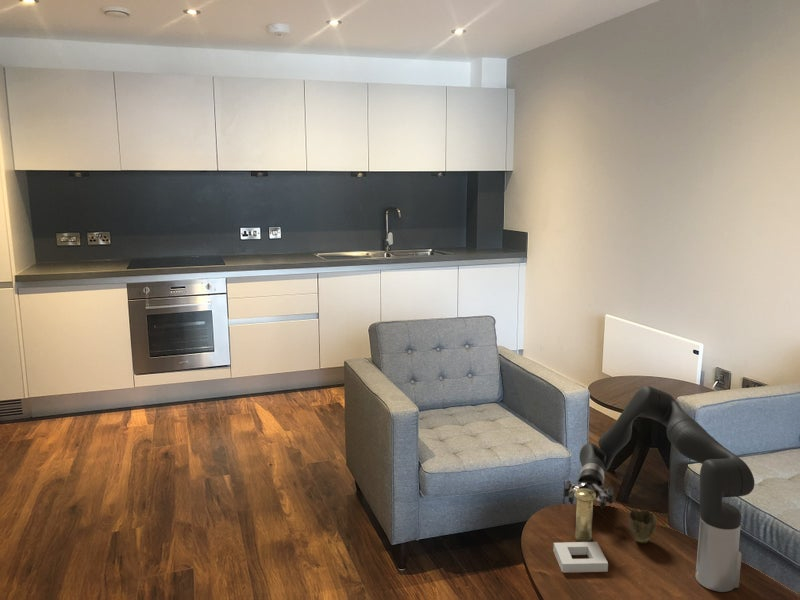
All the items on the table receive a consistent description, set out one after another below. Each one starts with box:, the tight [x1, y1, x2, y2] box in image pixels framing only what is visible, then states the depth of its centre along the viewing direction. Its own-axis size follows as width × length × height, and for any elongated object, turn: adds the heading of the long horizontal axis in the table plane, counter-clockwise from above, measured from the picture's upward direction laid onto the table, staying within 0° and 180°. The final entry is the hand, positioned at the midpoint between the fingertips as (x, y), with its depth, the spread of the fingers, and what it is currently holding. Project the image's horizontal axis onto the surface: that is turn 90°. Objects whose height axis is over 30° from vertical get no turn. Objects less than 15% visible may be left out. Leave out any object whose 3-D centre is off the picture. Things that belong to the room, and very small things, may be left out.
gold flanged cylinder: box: [574, 488, 596, 542], centre depth 189 cm, size 6×6×14 cm
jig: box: [553, 541, 609, 574], centre depth 179 cm, size 12×10×2 cm
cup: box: [628, 509, 658, 544], centre depth 188 cm, size 8×7×8 cm
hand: (586, 503), depth 194 cm, fingers open, 8 cm apart
